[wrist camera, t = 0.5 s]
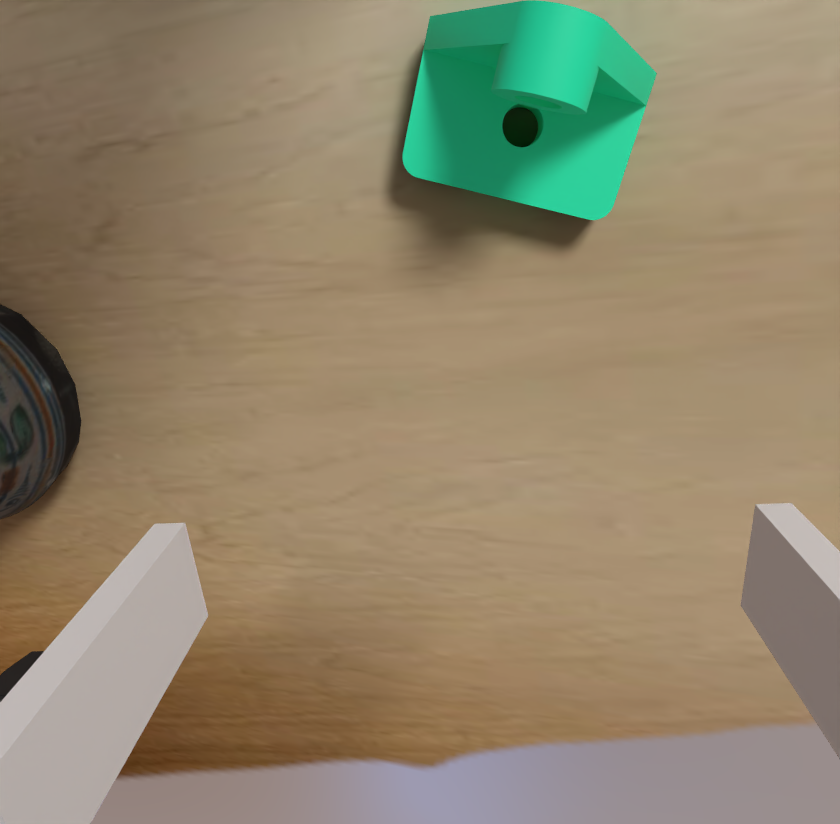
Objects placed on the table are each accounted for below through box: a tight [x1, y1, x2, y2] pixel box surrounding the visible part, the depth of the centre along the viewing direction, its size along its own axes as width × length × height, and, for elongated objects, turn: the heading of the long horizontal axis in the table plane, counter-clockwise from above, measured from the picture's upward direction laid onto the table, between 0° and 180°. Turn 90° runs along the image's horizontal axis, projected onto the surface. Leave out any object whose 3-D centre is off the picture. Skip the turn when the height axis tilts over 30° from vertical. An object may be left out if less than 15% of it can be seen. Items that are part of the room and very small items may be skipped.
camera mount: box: [403, 1, 657, 220], centre depth 30 cm, size 12×8×10 cm, turn 77°
